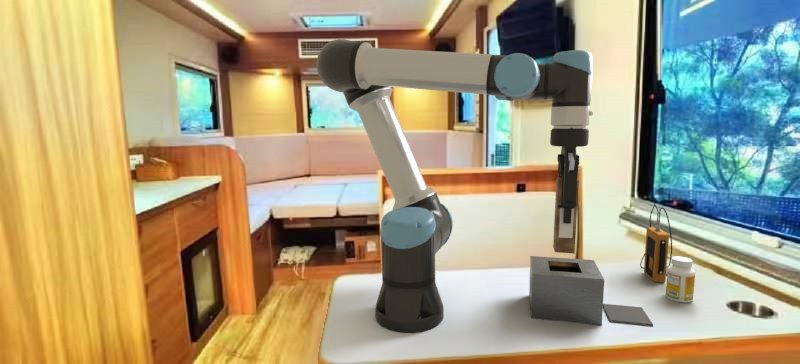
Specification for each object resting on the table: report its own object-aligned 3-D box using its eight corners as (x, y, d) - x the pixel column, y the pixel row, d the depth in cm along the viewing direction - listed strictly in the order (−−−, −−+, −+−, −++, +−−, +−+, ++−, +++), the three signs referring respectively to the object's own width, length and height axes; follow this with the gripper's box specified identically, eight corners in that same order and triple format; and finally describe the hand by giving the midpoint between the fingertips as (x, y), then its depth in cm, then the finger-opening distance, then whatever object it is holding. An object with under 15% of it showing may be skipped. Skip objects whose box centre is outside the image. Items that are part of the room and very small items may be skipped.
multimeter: (704, 291, 101) (711, 211, 98) (659, 288, 103) (665, 210, 100) (677, 269, 115) (682, 199, 112) (638, 268, 117) (642, 199, 114)
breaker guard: (531, 317, 89) (532, 273, 87) (529, 295, 100) (530, 255, 99) (601, 325, 85) (604, 279, 84) (591, 300, 97) (593, 260, 95)
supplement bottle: (690, 295, 98) (693, 256, 97) (695, 304, 93) (698, 264, 92) (663, 292, 100) (666, 254, 99) (667, 301, 96) (670, 261, 94)
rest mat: (610, 321, 86) (610, 319, 86) (602, 305, 94) (602, 303, 94) (652, 326, 84) (653, 324, 84) (641, 308, 92) (641, 307, 92)
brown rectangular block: (554, 252, 89) (558, 179, 87) (553, 246, 93) (556, 177, 91) (574, 253, 88) (578, 180, 86) (572, 248, 92) (575, 177, 90)
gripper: (596, 128, 78) (589, 247, 81) (582, 126, 94) (577, 225, 97) (554, 128, 80) (549, 244, 83) (547, 126, 96) (543, 223, 99)
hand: (564, 234), depth 90 cm, fingers closed on brown rectangular block, 4 cm apart
